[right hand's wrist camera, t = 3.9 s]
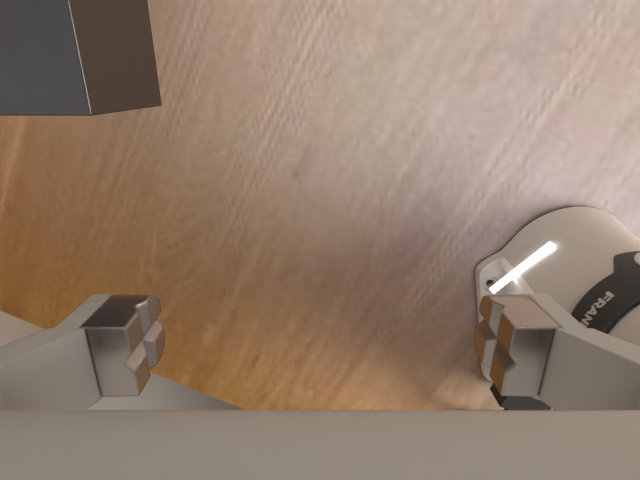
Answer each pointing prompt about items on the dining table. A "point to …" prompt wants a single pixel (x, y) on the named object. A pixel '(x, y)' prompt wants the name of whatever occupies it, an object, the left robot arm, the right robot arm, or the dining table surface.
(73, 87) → the box
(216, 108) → the dining table surface
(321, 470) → the right robot arm
